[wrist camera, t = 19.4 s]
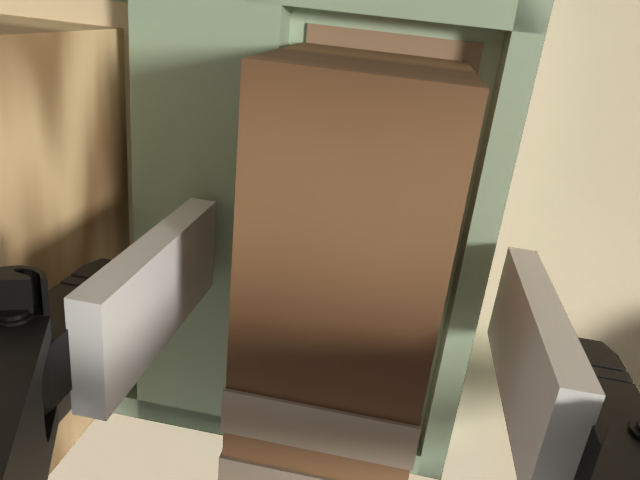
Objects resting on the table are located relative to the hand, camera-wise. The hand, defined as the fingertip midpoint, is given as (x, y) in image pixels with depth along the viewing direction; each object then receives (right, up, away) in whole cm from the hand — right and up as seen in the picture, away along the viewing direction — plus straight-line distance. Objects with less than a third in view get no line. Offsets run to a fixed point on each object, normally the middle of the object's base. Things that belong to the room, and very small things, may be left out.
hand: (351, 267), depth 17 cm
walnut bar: (0, 0, +1) cm, 1 cm away
